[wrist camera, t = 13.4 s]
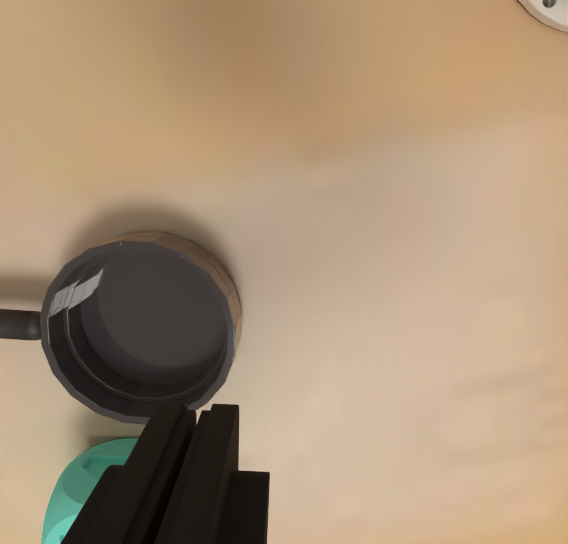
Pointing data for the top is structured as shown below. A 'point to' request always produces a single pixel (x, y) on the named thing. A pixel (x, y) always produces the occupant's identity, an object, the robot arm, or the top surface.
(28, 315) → the pan handle
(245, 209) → the top surface
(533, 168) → the top surface
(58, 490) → the decorative dice
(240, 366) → the top surface
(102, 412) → the pan
